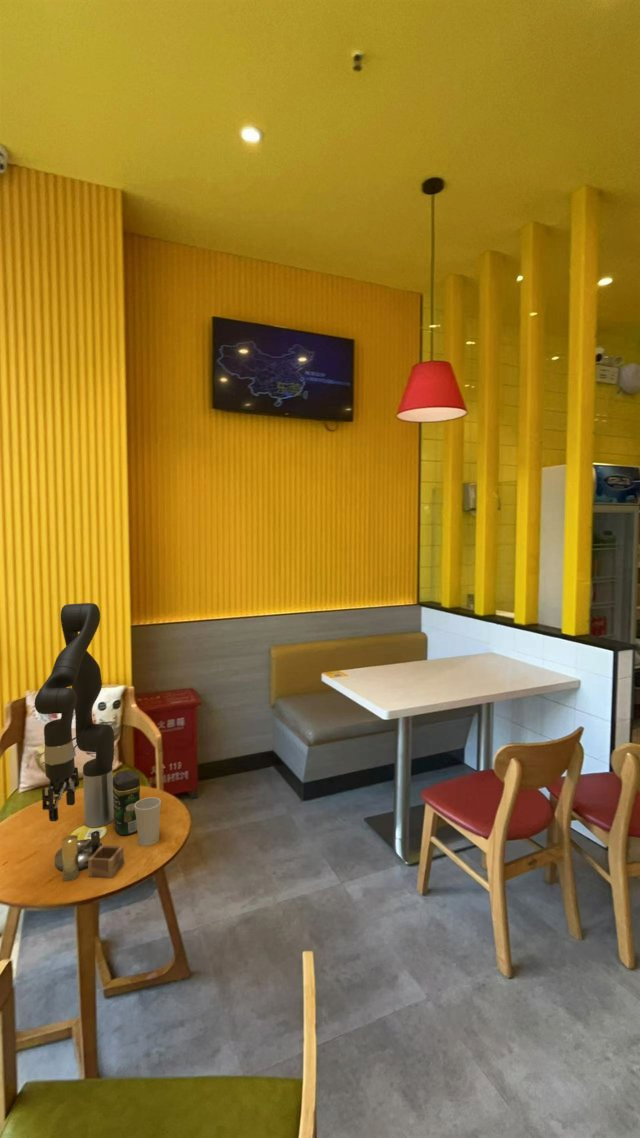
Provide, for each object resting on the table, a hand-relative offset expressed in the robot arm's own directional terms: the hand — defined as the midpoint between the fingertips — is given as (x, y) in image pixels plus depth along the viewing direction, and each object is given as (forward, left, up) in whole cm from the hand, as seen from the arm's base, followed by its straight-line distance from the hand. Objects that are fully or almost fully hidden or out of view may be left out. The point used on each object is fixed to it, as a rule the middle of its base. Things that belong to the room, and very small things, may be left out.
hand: (62, 812), depth 152 cm
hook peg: (+2, +3, -17) cm, 18 cm away
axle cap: (-6, +1, -14) cm, 16 cm away
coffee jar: (-24, +7, -18) cm, 31 cm away
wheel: (-6, +1, -17) cm, 19 cm away
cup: (-18, +17, -18) cm, 30 cm away
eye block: (-2, +12, -17) cm, 21 cm away
